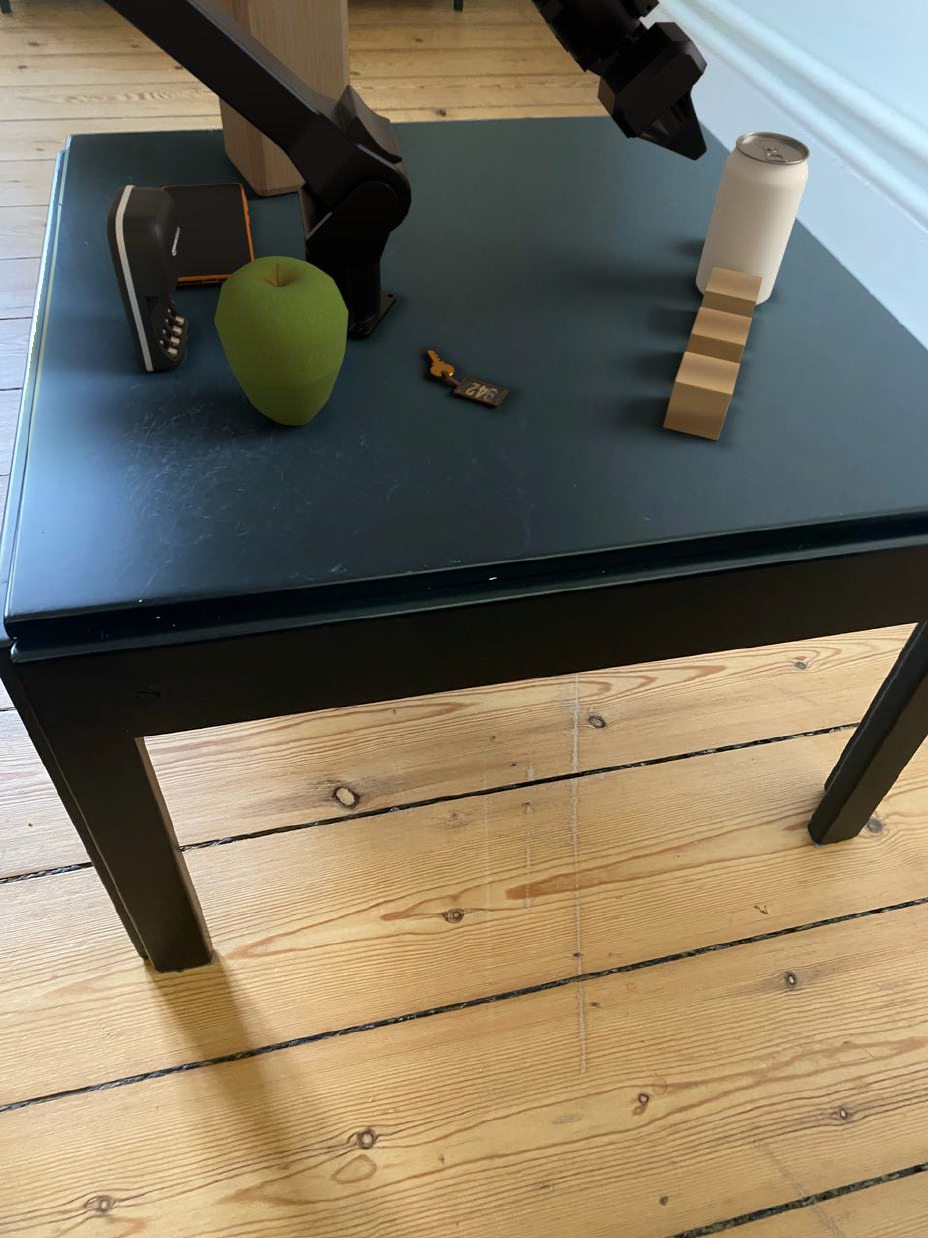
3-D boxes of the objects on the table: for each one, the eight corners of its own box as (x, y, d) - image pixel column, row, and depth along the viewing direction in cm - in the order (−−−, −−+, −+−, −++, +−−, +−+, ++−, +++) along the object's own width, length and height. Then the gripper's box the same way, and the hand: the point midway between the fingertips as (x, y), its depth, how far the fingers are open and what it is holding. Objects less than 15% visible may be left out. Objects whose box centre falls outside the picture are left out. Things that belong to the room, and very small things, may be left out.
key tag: (514, 395, 70) (515, 388, 70) (489, 413, 69) (490, 406, 68) (430, 351, 73) (430, 344, 73) (404, 367, 72) (404, 360, 71)
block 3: (717, 441, 68) (732, 394, 65) (662, 427, 69) (674, 380, 66) (725, 409, 71) (740, 363, 68) (672, 397, 71) (685, 350, 68)
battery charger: (191, 375, 70) (162, 225, 61) (138, 375, 70) (101, 224, 61) (201, 323, 75) (175, 176, 66) (151, 323, 74) (119, 175, 66)
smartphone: (164, 288, 77) (162, 278, 77) (161, 194, 88) (160, 185, 87) (258, 281, 79) (257, 272, 78) (244, 190, 89) (243, 181, 89)
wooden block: (224, 158, 94) (190, -89, 79) (319, 143, 97) (304, -97, 82) (258, 202, 88) (228, -55, 73) (357, 184, 92) (349, -65, 76)
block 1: (742, 346, 76) (756, 301, 73) (693, 335, 77) (705, 290, 74) (749, 321, 79) (762, 276, 76) (701, 310, 80) (713, 266, 77)
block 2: (730, 391, 72) (745, 344, 69) (678, 379, 73) (690, 332, 70) (738, 363, 75) (752, 317, 72) (687, 351, 75) (699, 305, 72)
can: (761, 272, 84) (804, 131, 75) (777, 312, 80) (825, 167, 71) (688, 269, 84) (723, 127, 75) (701, 308, 80) (739, 163, 71)
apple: (218, 393, 69) (191, 240, 60) (329, 371, 71) (320, 221, 63) (250, 466, 64) (226, 311, 55) (369, 439, 66) (364, 286, 57)
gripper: (714, -123, 51) (831, 94, 61) (613, -194, 63) (725, -3, 73) (553, 41, 56) (687, 217, 66) (488, -54, 68) (610, 108, 78)
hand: (679, 127), depth 71 cm, fingers open, 9 cm apart
